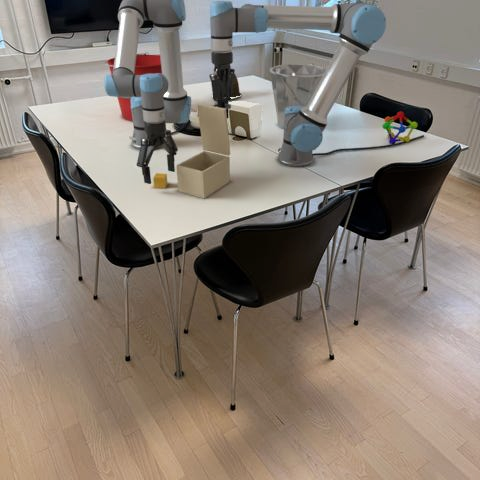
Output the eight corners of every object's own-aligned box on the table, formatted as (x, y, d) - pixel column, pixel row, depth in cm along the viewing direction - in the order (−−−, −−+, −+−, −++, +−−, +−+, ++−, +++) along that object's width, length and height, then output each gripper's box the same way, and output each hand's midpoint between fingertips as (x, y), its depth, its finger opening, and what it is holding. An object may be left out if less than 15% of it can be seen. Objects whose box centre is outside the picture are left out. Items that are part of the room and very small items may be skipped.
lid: (224, 109, 155) (237, 100, 160) (196, 104, 160) (210, 96, 165) (228, 155, 166) (240, 145, 172) (203, 149, 172) (215, 140, 177)
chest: (204, 198, 160) (202, 172, 154) (178, 191, 165) (176, 165, 160) (229, 181, 172) (229, 156, 167) (205, 175, 178) (204, 150, 172)
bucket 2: (296, 138, 215) (301, 78, 201) (255, 124, 234) (256, 68, 219) (335, 125, 232) (342, 70, 217) (294, 113, 251) (297, 61, 236)
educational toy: (377, 146, 209) (379, 114, 202) (384, 138, 219) (386, 107, 211) (411, 149, 202) (415, 116, 195) (417, 141, 212) (420, 109, 204)
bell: (227, 105, 294) (202, 96, 282) (238, 66, 289) (213, 55, 277) (243, 108, 280) (217, 98, 268) (255, 66, 275) (229, 55, 263)
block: (165, 188, 167) (164, 178, 165) (154, 187, 167) (153, 177, 165) (167, 183, 171) (166, 173, 168) (157, 183, 171) (155, 173, 169)
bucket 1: (121, 106, 263) (114, 51, 247) (180, 106, 262) (176, 52, 246) (104, 123, 233) (95, 63, 217) (170, 124, 232) (166, 64, 216)
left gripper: (138, 131, 145) (145, 190, 156) (184, 114, 163) (188, 168, 174) (121, 128, 148) (129, 186, 159) (169, 111, 167) (173, 164, 178)
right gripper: (219, 55, 147) (220, 125, 160) (242, 49, 158) (241, 115, 170) (200, 53, 150) (203, 121, 163) (224, 47, 161) (225, 112, 173)
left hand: (160, 177), depth 167 cm, fingers open, 13 cm apart
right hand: (223, 118), depth 166 cm, fingers closed on lid, 2 cm apart
